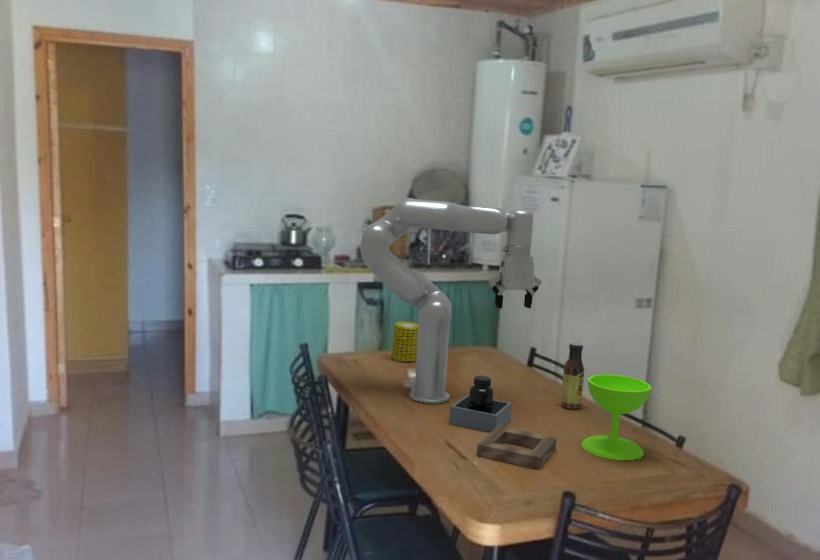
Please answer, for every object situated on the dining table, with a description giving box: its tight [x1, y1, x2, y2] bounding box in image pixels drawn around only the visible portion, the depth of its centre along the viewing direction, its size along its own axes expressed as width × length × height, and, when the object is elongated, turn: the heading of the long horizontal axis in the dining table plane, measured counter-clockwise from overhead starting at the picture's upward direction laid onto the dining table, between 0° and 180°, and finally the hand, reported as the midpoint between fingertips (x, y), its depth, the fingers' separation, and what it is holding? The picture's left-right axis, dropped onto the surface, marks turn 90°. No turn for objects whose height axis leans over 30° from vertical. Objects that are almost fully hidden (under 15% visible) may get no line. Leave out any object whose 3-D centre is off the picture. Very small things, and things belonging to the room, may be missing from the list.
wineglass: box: [581, 374, 652, 461], centre depth 197 cm, size 16×16×18 cm
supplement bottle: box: [468, 375, 495, 414], centre depth 213 cm, size 7×7×12 cm
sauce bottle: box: [560, 342, 585, 410], centre depth 231 cm, size 7×6×20 cm
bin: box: [448, 394, 513, 433], centre depth 213 cm, size 14×14×5 cm
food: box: [391, 321, 418, 363], centre depth 276 cm, size 15×12×10 cm
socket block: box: [476, 426, 557, 470], centre depth 192 cm, size 16×16×3 cm
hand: (513, 307), depth 227 cm, fingers open, 9 cm apart
